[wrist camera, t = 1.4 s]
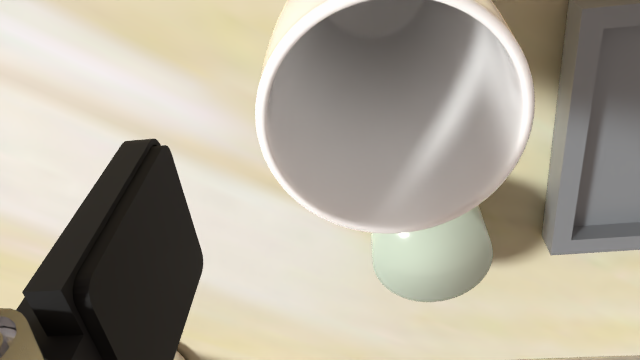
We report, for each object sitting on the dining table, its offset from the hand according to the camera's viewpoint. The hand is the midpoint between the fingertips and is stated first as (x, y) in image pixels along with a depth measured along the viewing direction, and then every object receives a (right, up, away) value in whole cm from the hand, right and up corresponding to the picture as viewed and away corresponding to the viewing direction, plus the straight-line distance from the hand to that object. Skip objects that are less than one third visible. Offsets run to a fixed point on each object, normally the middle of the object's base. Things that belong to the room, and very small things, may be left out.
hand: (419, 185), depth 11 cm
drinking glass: (+1, +10, +16) cm, 18 cm away
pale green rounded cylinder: (+4, -1, +22) cm, 23 cm away
